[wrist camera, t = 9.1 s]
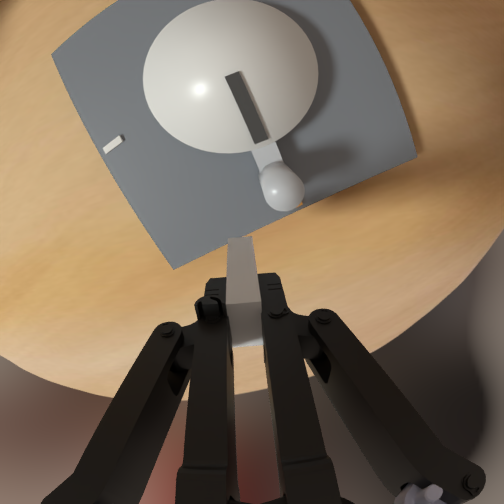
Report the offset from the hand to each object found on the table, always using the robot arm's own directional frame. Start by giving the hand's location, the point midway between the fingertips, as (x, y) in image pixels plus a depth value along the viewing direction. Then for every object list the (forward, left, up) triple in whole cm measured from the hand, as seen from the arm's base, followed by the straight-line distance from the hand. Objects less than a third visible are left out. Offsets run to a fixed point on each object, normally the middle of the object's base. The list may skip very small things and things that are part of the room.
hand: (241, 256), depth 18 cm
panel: (-11, +5, -7) cm, 14 cm away
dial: (-9, +5, -5) cm, 11 cm away
